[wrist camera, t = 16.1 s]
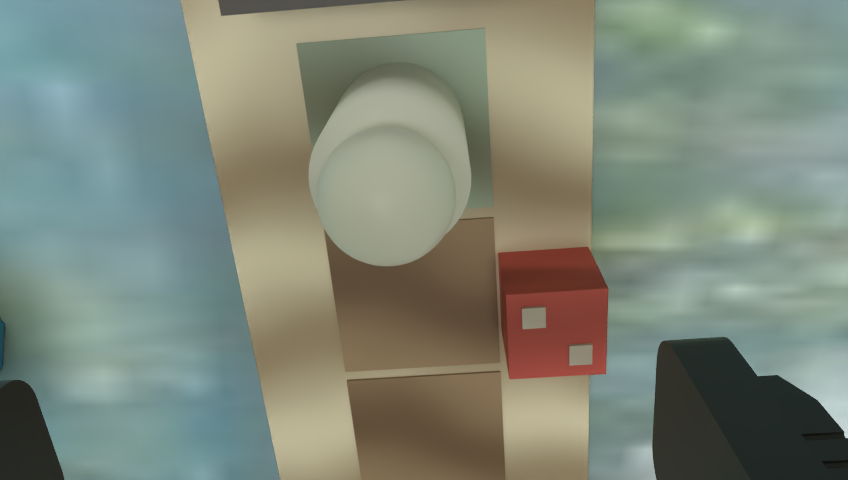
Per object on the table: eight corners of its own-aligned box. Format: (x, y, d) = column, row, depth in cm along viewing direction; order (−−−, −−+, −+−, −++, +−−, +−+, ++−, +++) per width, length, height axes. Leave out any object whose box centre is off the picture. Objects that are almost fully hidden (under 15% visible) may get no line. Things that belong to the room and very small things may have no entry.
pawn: (467, 184, 23) (481, 302, 16) (343, 192, 23) (301, 312, 16) (460, 57, 21) (472, 123, 14) (327, 67, 21) (271, 137, 14)
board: (580, 482, 30) (604, 574, 25) (296, 496, 30) (273, 589, 26) (587, -356, 18) (633, -442, 14) (136, -308, 19) (50, -376, 15)
